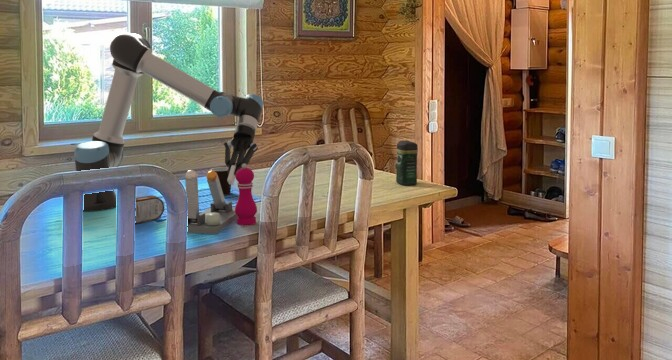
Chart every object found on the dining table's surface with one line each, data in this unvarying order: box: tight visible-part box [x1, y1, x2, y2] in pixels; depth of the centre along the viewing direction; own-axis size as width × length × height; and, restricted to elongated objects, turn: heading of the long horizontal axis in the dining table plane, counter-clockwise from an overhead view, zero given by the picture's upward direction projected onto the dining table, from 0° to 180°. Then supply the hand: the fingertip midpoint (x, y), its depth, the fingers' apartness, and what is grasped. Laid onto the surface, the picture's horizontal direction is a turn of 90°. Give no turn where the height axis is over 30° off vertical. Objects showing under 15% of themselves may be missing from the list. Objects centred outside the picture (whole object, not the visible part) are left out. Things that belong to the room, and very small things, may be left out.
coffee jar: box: [395, 140, 419, 186], centre depth 259 cm, size 10×8×19 cm
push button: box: [206, 213, 220, 225], centre depth 191 cm, size 4×4×3 cm
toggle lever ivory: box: [184, 169, 200, 223], centre depth 191 cm, size 4×4×17 cm
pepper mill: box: [235, 163, 258, 226], centre depth 198 cm, size 7×7×20 cm
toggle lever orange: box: [206, 170, 227, 211], centre depth 203 cm, size 4×4×17 cm
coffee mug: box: [209, 166, 232, 196], centre depth 244 cm, size 12×9×10 cm
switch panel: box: [187, 201, 238, 235], centre depth 201 cm, size 12×26×5 cm, turn 170°
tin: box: [135, 195, 165, 224], centre depth 202 cm, size 15×3×8 cm, turn 133°
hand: (230, 182), depth 216 cm, fingers closed
